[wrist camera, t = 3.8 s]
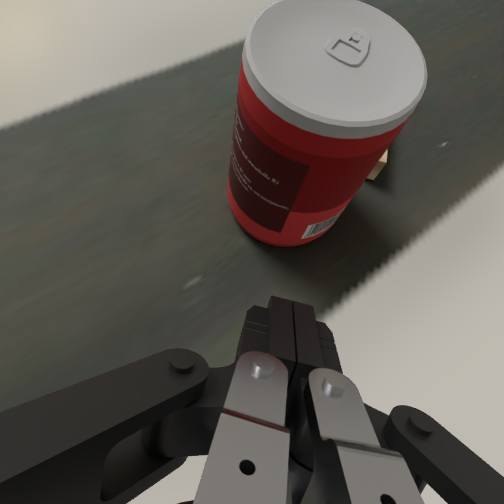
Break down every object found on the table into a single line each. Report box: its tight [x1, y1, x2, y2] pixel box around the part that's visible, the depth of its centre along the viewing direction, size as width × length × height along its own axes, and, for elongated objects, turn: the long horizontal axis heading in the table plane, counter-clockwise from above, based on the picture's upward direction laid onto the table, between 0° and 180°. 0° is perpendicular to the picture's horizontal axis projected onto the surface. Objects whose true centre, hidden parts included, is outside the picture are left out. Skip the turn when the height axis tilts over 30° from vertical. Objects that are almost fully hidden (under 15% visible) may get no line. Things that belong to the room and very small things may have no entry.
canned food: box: [227, 0, 427, 247], centre depth 19 cm, size 8×8×11 cm
